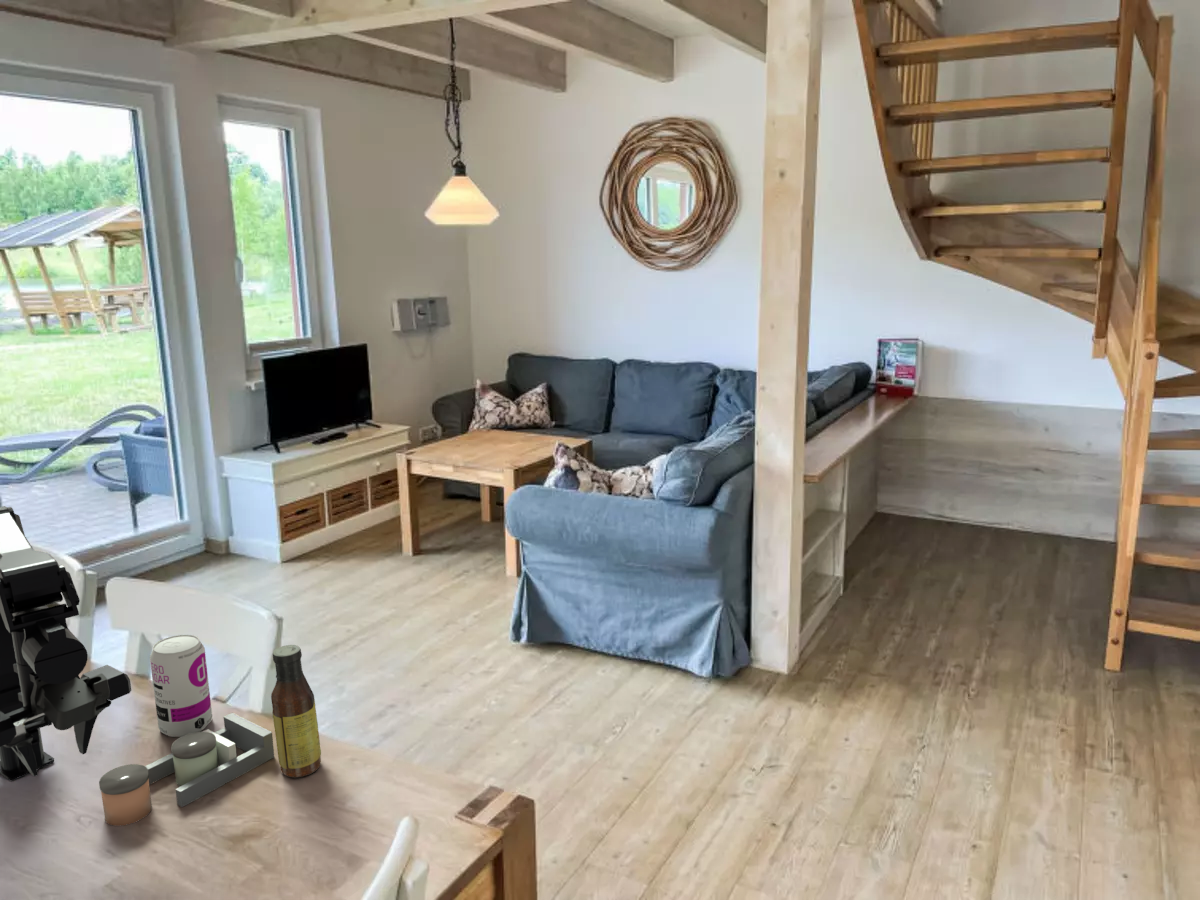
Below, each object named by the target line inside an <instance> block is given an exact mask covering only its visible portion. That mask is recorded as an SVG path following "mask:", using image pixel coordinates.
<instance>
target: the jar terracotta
mask: <svg viewBox="0 0 1200 900" xmlns="http://www.w3.org/2000/svg"><path fill="white" fill-rule="evenodd" d="M145 766H146V765H142V764H139V763H133V764H132V763H130V764H125V765H121V766H118V767H115V768H113V769H111V770H109V771H107V772H106V773H105V774H103V775H102V776H101V777H100V779H99V781H98V785H99V790H100V794H101V800H102V806H103V814H104V820H105V822H106V823H107V824H108V825H111V826H117V827H121V826H122V825H123V826H127V825H126V824H128V825H132V824H135V823H137V822H139V821H141V820H142V818H143V817H144V818H146V817H147V816H149V814H150V813H151V811H152V810H153V806H152V805H153V804H152V797H151V796H152V795H151V790H150V785H149V780H148V778H149V774H148V769H147V767H145ZM149 812H150V813H149ZM148 813H149V814H148ZM146 815H147V816H146ZM145 816H146V817H145ZM144 818H143V819H144ZM140 819H141V820H140ZM138 820H139V821H138ZM136 821H137V822H136ZM134 822H135V823H134ZM131 823H132V824H131ZM120 825H121V826H120Z"/></svg>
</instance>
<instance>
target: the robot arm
mask: <svg viewBox="0 0 1200 900" xmlns="http://www.w3.org/2000/svg"><path fill="white" fill-rule="evenodd" d="M24 531H25V530H24V527H23V525H22V520H21V517H20V515H19V514H16V513H15V511H14V508H13V507H12V506H8V507H7V506H6V505H4V506H0V775H1V776H2V777H4V778H6V779H7V780H8V781H15V780H16V779H18V778H21V777H23V776H25V775H28V774H31V776H32V777H36V776H38V772H39V771H38V770H39V769H41V768H43V767H45V766H48V765H50V764H53V763H54V762H55V758H54V756H52V755H50V754H48V753H47V752H46V751H44V745H43V738H42V733H41V728H44V727H47V726H48V727H49V726H52V725H53V727H54V728H55V729H56V730H59V731H67V730H69V729H71V728H72V727H73V730H74V735H75V736H74V737H75V743H76V745H77V749H78V752H79V753H80V754H82V755H85V754H87V751H88V748H89V743H90V741H91V737H92V734H93V733H92V732H93V730H94V727H95V723H96V721H97V719H98V716H99V715H100V714H101V713H102V712H103V711H104V710H105V709H106V708H108V707H110V706H111V704H112V701H114V700H116V699H119V698H122V697H123V696H126V695H129V694H130V693H131V692H132V685H131V679H130V677H129V675H128V674H126V673H124V672H123V671H121V670H118V669H116V668H115V667H112V666H111V665H108V664H106V665H103V666H100V667H97V668H95V669H93V670H89V671H87V672H85V673H82V672H83V671H84V669H85V667H86V666H87V663H88V657H89V655H88V650H87V649H86V647H85V645H84V644H83V643H82V642H81V641H80V640H79V638H77V636H76V635H75V634H73V632H72V631H71V630H70V629H69V628H68V625H67V620H66V619H68V618H74V617H76V616H79V614H80V611H79V609H78V606H79V605H80V603H81V602H80V601H81V600H80V597H79V595H78V591H77V589H76V587H75V584H74V581H73V579H72V578H73V577H72V576H71V573H70V572H69V571H68V570H67V568H66V567H65V566H64V565H62V564H59V563H58V561H57V560H56V559H55V557H53V556H52V554H51V553H50V552H47V551H41V550H35V549H34V548H33V546H32V545H31V543H30V541H29V540H28V539H27V536H26V535H25V532H24ZM62 601H65V603H61V604H57V605H53V606H48V605H52V604H56V603H60V602H62ZM81 673H82V675H81V676H79V675H80V674H81Z"/></svg>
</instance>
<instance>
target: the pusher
mask: <svg viewBox="0 0 1200 900" xmlns="http://www.w3.org/2000/svg"><path fill="white" fill-rule="evenodd" d="M202 732H209V733H212V734H214V735H215V737H216V750H217V759H218V767H219V766H221V765H223V764H225V763H226V762H228V761H230V760H232V759H234V758H236V757H238V756H237V747H236V746H235V743H234V742H232V741H230V740H228V739H226V738H224V737H222V736H220V735H218V734H216V733H214V731H213V730H210V729H209V728H207V729H205V730H203V731H202Z"/></svg>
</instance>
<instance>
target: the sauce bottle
mask: <svg viewBox="0 0 1200 900" xmlns="http://www.w3.org/2000/svg"><path fill="white" fill-rule="evenodd" d="M302 653H303V652H302V650H301V648H300V646H298V645H296V644H288V645H282V646H279V647H277V648H275V649H274V650H273V651H272V660H273V662H274V664H275V678H276V681H275V685H274V687H273V689H272V691H271V695H270V699H271V704H272V705H271V706H272V719H273V727H274V735H275V741H276V743H275V744H276V750H277V751H276V752H277V758H278V763H279V765H280V768H279V769H280V771H281V773H282V774H283V775H285V776H287V777H289V778H295V779H297V778H302V777H307V776H309V775H311V774H313V773H315V772H316V771H317V770H318V769H319V768H320V767H321V760H322V758H321V756H322V749H321V741H320V733H319V724H318V723H319V722H318V718H317V717H318V716H317V710H316V709H317V707H316V700H315V695H314V692H313V691H312V688H311V686H310V685H309V682H308V680H307V679H306V676H305V675H304V673H303V672H304V671H303V667H302V657H303V656H302V655H303V654H302Z"/></svg>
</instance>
